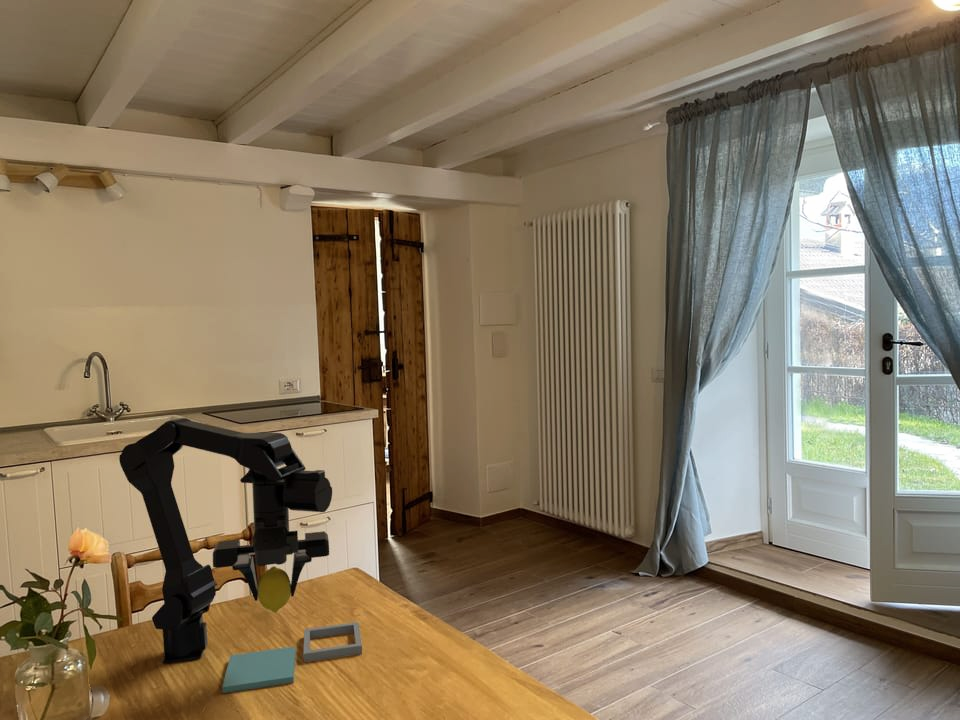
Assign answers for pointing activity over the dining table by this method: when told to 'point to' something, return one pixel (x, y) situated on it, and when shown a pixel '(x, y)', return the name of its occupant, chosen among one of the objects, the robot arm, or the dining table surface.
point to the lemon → (274, 589)
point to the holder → (332, 651)
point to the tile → (260, 669)
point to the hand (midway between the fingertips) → (274, 597)
